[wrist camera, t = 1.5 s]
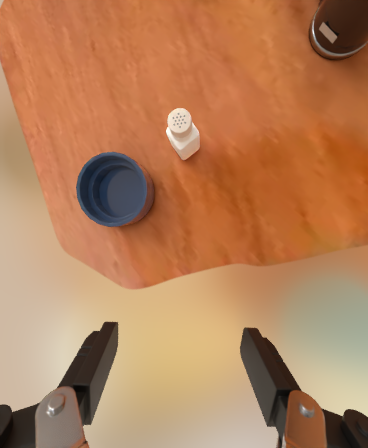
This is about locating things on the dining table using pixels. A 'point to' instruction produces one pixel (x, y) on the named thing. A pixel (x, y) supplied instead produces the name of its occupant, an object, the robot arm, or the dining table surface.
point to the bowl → (114, 190)
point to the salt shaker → (182, 133)
